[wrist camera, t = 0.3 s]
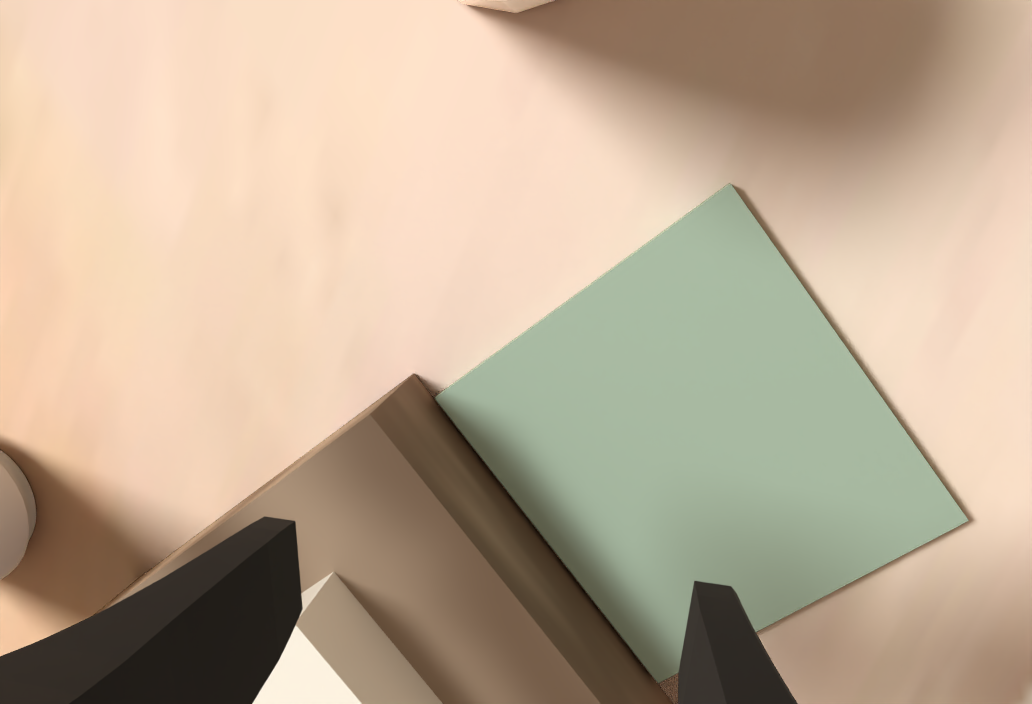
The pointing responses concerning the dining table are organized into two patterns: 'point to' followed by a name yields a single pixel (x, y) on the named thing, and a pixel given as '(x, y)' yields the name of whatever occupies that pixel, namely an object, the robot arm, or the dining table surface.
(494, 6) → the white cup
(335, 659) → the tile
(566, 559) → the mat
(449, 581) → the brown flat block
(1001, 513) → the dining table surface
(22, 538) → the energy drink can
